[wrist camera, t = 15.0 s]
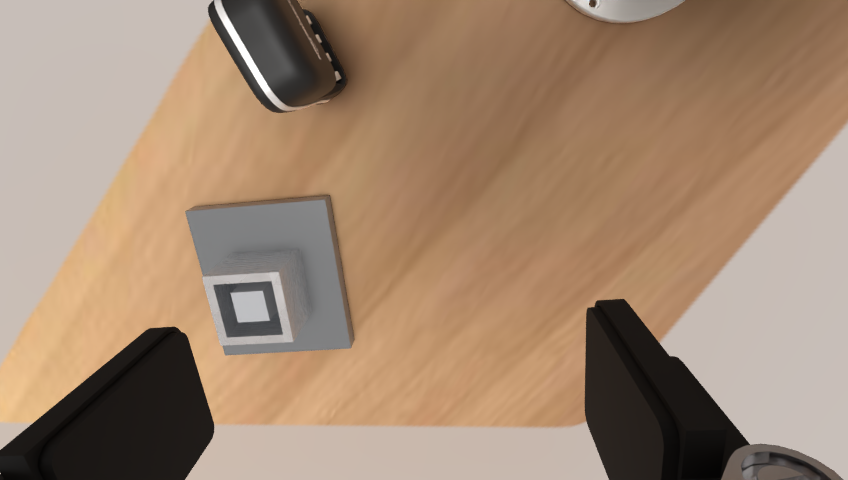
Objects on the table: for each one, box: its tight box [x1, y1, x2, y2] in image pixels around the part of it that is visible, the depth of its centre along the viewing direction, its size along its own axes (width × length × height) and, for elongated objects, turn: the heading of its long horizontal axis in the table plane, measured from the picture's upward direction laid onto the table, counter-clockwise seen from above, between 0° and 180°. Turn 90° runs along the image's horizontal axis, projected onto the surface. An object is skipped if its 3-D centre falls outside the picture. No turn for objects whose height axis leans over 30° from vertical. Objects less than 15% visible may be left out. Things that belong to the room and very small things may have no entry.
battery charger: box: [208, 0, 347, 113], centre depth 30 cm, size 7×4×11 cm, turn 27°
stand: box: [185, 195, 354, 355], centre depth 39 cm, size 12×14×6 cm
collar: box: [202, 249, 312, 346], centre depth 38 cm, size 6×6×5 cm
